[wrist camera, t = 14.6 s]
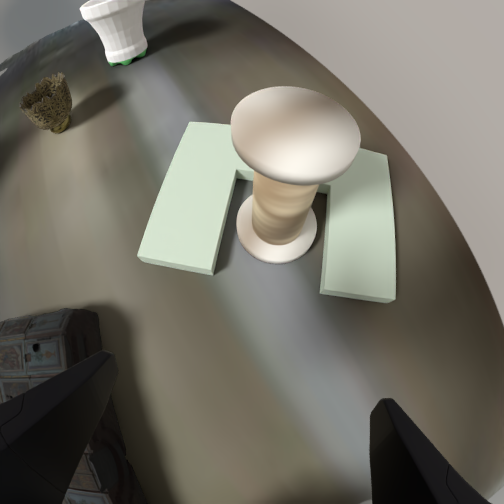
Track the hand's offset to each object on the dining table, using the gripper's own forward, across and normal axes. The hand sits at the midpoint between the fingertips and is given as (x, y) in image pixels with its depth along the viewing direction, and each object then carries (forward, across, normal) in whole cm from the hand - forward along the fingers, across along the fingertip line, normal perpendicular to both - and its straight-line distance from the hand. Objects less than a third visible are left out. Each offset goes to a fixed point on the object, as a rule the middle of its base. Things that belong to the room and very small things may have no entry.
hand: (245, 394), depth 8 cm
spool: (+19, 0, +1) cm, 19 cm away
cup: (+40, +30, -21) cm, 54 cm away
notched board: (+20, 0, -1) cm, 21 cm away
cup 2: (+27, +32, -8) cm, 43 cm away
